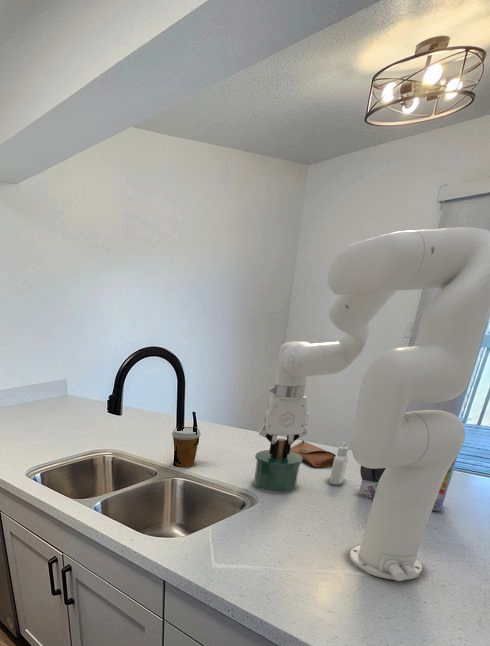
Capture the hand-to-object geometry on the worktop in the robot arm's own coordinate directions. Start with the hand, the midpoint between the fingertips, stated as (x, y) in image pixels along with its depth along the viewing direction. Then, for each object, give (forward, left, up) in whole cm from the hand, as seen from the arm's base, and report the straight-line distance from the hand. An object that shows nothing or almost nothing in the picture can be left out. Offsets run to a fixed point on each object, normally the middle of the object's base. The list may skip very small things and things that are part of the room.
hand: (278, 455), depth 125 cm
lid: (0, 0, -1) cm, 1 cm away
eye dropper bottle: (+4, -18, -9) cm, 21 cm away
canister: (0, 0, -9) cm, 9 cm away
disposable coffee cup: (+18, +26, -9) cm, 33 cm away
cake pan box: (-9, -29, -9) cm, 32 cm away
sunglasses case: (+25, -15, -9) cm, 31 cm away
